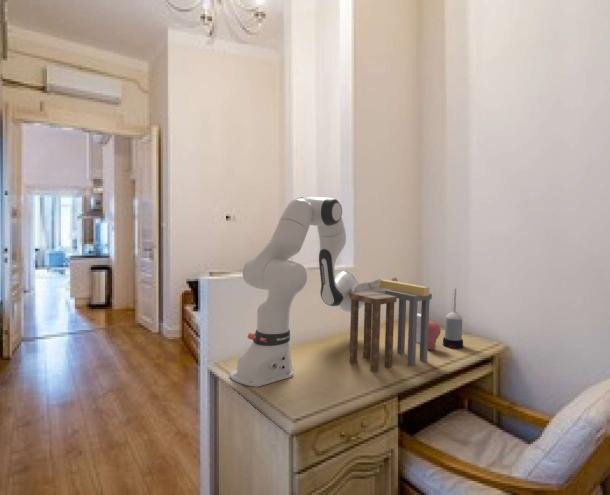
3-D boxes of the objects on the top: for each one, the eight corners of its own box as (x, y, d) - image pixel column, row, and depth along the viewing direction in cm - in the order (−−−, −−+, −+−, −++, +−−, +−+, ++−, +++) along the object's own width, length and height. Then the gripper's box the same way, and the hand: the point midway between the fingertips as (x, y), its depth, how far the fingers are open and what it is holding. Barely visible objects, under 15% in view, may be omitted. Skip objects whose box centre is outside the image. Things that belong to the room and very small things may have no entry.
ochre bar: (379, 287, 159) (379, 280, 158) (384, 286, 160) (384, 279, 160) (423, 296, 141) (424, 287, 140) (429, 295, 142) (429, 287, 142)
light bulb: (440, 353, 157) (442, 324, 157) (422, 351, 159) (423, 322, 158) (438, 347, 164) (439, 319, 163) (421, 346, 166) (422, 318, 165)
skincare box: (426, 342, 172) (427, 315, 171) (420, 343, 170) (421, 316, 169) (415, 338, 177) (416, 312, 176) (409, 340, 175) (410, 313, 174)
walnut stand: (347, 361, 146) (349, 292, 144) (366, 356, 152) (368, 290, 150) (374, 373, 135) (376, 299, 133) (394, 367, 140) (396, 296, 139)
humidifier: (449, 349, 163) (452, 290, 161) (439, 343, 171) (441, 286, 169) (467, 348, 164) (469, 289, 163) (455, 342, 172) (458, 286, 171)
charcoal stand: (383, 355, 153) (385, 290, 151) (400, 351, 159) (402, 288, 157) (411, 367, 141) (414, 296, 140) (429, 361, 147) (431, 293, 146)
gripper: (346, 287, 162) (367, 274, 152) (380, 284, 174) (402, 271, 163) (351, 301, 160) (372, 289, 149) (385, 297, 171) (407, 285, 161)
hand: (388, 280), depth 157 cm, fingers open, 8 cm apart
